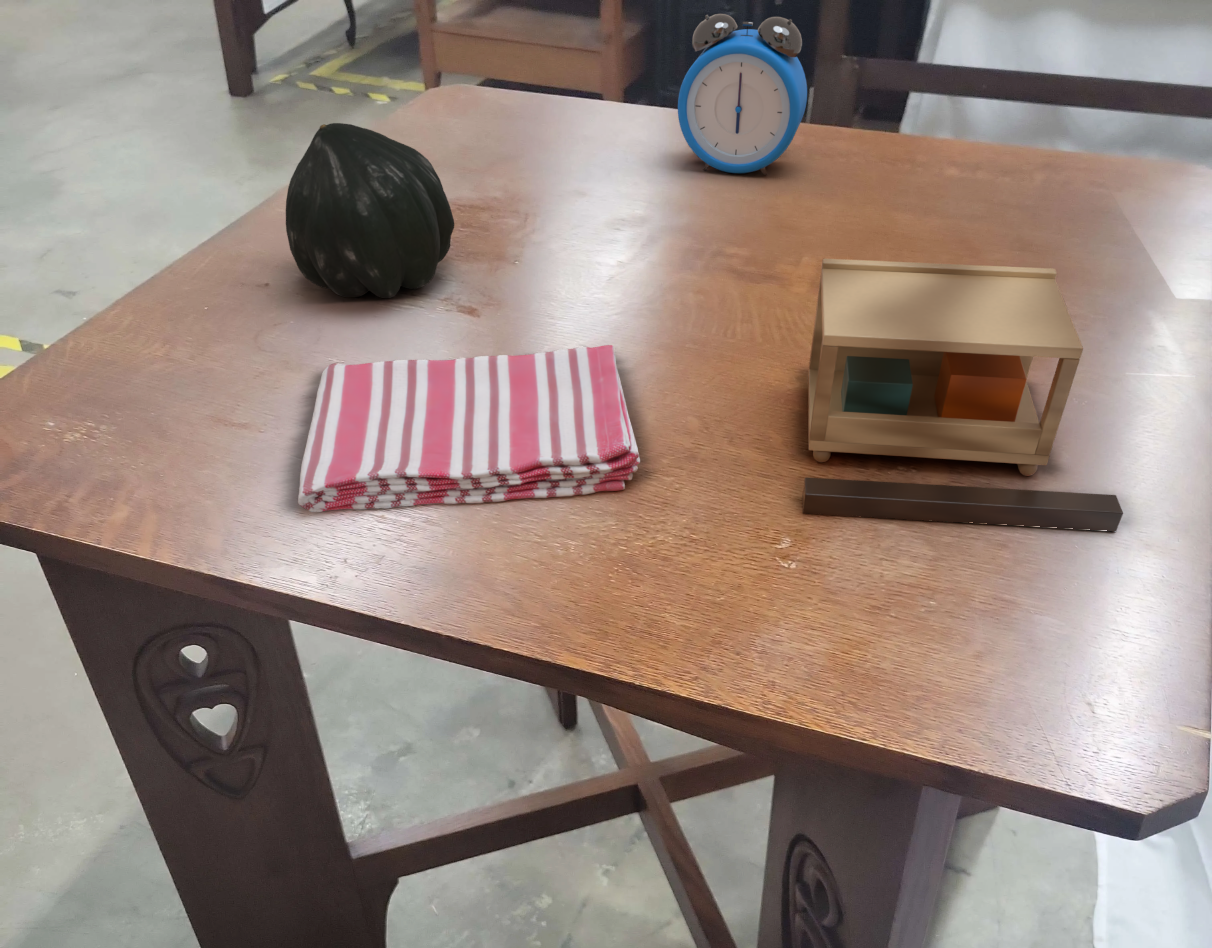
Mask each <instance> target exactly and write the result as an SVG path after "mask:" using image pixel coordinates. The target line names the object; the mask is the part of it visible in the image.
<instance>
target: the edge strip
mask: <svg viewBox="0 0 1212 948" xmlns="http://www.w3.org/2000/svg"><path fill="white" fill-rule="evenodd" d="M802 487H803V488H802V494H801V497H802V498H801V499H802V502H801V503H802V513H803V515H804V514H806V515H820V514H825V515H824V516H838V517H839V516H840V517H855V518H870V517H874V518H873V519H887V518H889V519H890V518H895V519H894V520H903V519H907V520H908V521H920V520H924V521H923V522H930V521H929V520H932V521H931V522H937V521H943V522H942V523H946V522H945V521H948V522H947V523H953V522H968V523H967V524H970V523H969V522H973V523H987V524H1007V525H1024V526H1040V527H1057V528H1073V529H1090V530H1107V531H1116V532H1117V531H1118V528H1119V525H1120V522H1121V520H1122V518H1123V514H1124V511H1123V509H1122V506H1121V504H1120V502H1119V498H1118V496H1117V495H1116V494H1104V493H1090V492H1089V493H1086V492H1071V491H1070V492H1069V491H1053V490H1052V491H1051V490H1034V489H1033V490H1032V489H1020V488H1019V489H1016V488H1003V487H1002V488H1001V487H983V486H966V485H965V486H964V485H947V484H929V483H914V482H913V483H912V482H896V481H879V480H877V481H875V480H859V479H857V480H856V479H841V478H823V477H807V476H806V477H804V481H803V486H802ZM859 516H861V517H859ZM912 519H913V520H912ZM890 520H891V519H890ZM907 520H906V521H907Z"/></svg>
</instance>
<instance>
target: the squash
mask: <svg viewBox="0 0 1212 948" xmlns="http://www.w3.org/2000/svg"><path fill="white" fill-rule="evenodd" d="M454 229H455V218H454V215H453V211H452V208H451V205H450V202H449V200H448V197H447V195H446V192H445V190H444V187H443V184H442V182H441V179H440V177H439V175H438V174H437V172H436V170H435V168H434V166H433V165H432V163H431V162H430V161H429V159H428V158H427V157H426V156H425V155H423V154H422V153H421V152H419V151H418V150H417V149H416V148H413V147H411V146H410V145H407V144H404V143H402V142H399V141H397V140H395V139H393V138H390V137H388V136H386V135H384V134H382V133H379V132H377V131H374V130H372V129H368V128H365V127H362V126H358V125H354V124H351V123H343V122H333V123H328V124H324V123H323V124H321V125H320V126H319V128H318V130H317V131H316V132H315V134H314V135H313V138H312V139H311V141H310V144H309V145H308V147H307V149H306V150H305V152H304V155H303V156H302V158H301V159H300V160H299V162H298V163H297V166H296V167H295V170H294V172H293V173H292V176H291V178H290V181H289V185H288V187H287V194H286V200H285V232H286V236H287V240H288V246H289V250H290V253H291V255H292V257H293V259H294V261H295V264H296V266H297V268H298V270H299V272H300V273H301V275H303V277H304V278H305V279H306V280H308V281H310V283H312V284H313V285H316V286H317V287H321V288H323V289H327V290H331V291H332V292H333V293H334V294H335V295H338V296H340V297H343V298H359V297H362V296H364V295H365V294H367V293H368V292H370V293H372V294H373V295H375V296H376V297H378V298H382V299H391V298H394V297H396V295H397V294H398V293H399V291H400V290H401V287H402V288H405V289H409V290H418V289H421V288H422V287H425V286H427V285H428V284H429V283H431V281H432V279H433V278H434V276H435V274H436V271H437V268H438V264H439V263H440V262H441V261H443V260H444V258H445V257H446V256H447V255H448V253H449V251H450V248H451V241H452V234H453V232H454Z"/></svg>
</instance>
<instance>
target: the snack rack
mask: <svg viewBox="0 0 1212 948" xmlns="http://www.w3.org/2000/svg"><path fill="white" fill-rule="evenodd" d="M1057 274H1058V273H1057V270H1056V268H1050V267H1049V268H1046V267H1027V266H1025V267H1024V266H1004V265H1001V266H1000V265H983V264H981V265H979V264H978V265H977V264H957V263H956V264H955V263H934V262H932V263H931V262H914V261H913V262H911V261H889V260H864V259H847V258H845V259H844V258H822V260H821V267H820V274H819V284H818V290H817V299H816V307H815V315H814V322H813V331H812V339H811V347H810V354H809V362H808V370H807V411H808V412H807V418H808V420H807V422H808V425H807V426H808V428H807V429H808V432H807V433H808V434H807V435H808V436H807V437H808V439H807V440H808V451H812V455H813V456H812V457H813V459H814V460H815V461H816V462H818V463H826V462H827V461H829V460H830V458H831V453H845V454H862V455H877V456H878V455H879V456H894V457H907V458H908V457H909V458H924V459H925V458H926V459H941V460H942V459H943V460H955V461H969V462H970V461H971V462H987V463H1003V464H1004V463H1005V464H1016V465H1017V468H1018V471H1019V473H1020V474H1021V475H1022V476H1024V477H1030V476H1033V475H1034V474H1035V473H1036V472H1037V471H1038V466H1047V465H1048V462H1049V458H1050V455H1051V453H1052V449H1053V446H1054V442H1055V439H1056V436H1057V433H1058V430H1059V427H1060V424H1061V422H1062V417H1063V415H1064V412H1065V409H1066V405H1067V402H1068V398H1069V396H1070V392H1071V390H1072V387H1073V386H1072V385H1073V384H1074V383H1073V382H1074V380H1075V377H1076V375H1077V370H1078V367H1079V364H1080V360H1081V357H1082V354H1083V351H1084V347H1083V344H1082V341H1081V339H1080V336H1079V334H1078V332H1077V329H1076V327H1075V323H1074V322H1073V320H1072V317H1071V313H1070V311H1069V309H1068V307H1067V305H1066V302H1065V300H1064V297H1063V295H1062V292H1061V290H1060V287H1059V284H1058V282H1057V281H1056V278H1057ZM1035 357H1036V358H1051V359H1052V358H1053V359H1055V358H1056V359H1058V361H1057V365H1056V367H1055V370H1054V375H1053V377H1052V381H1051V385H1050V388H1049V390H1048V391H1049V392H1048V395H1047V398H1046V400H1045V405H1044V408H1043V411H1042V414H1041V417H1040V420H1039V418H1038V413H1037V410H1036V407H1035V404H1034V401H1033V398H1032V395H1031V390H1030V388H1029V385H1028V382H1027V380H1028V377H1029V373H1030V370H1031V366H1032V363H1033V360H1034V358H1035Z"/></svg>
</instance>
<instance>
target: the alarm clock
mask: <svg viewBox="0 0 1212 948" xmlns="http://www.w3.org/2000/svg"><path fill="white" fill-rule="evenodd" d="M704 17H705V18H704V20H702V21H701V22H699V24H698V25H697V27H695V30H694V31H693V34H692V38H691V39H692V40H691V41H692V48H693V50H694V52H699V51H702V50H703V51H702V52H701V53H700V54H699V56H698V57H697V58H696V59H695V61H694V62H693V63H692V65H691V66H690V67H689V69H688V70H687V72H686V73H685V75H684V78H683V79H682V83H681V85H680V88H679V92H678V97H677V118H678V124H679V127H680V131H681V134H682V135H683V138H684V140H685V142H686V144H687V145H688V147H689V148H690V150H691V151H692V152H693V153H694V154H695V155H696V157H698V158H699V159H700V160H701V161H703V162H704V163H705V164H704V166H703V169H704V170H705V171H706V170H707V169H708V167H709V166H710V167H712V168H713V169H715V170H719V171H721V172H724V173H730V174H747V173H753V172H756V171H759V170H760V171H761V173H762V174H763V176H764V175H766V176H767V170H766V167H768V166H769V165H771V164H773V163H774V162H775V161H776V160H778V159H779V158H780V157H781V156H782V155H783V154H784V153H785V152H786V150H787V149H788V148H789V146H790V145H791V143H792V142H793V140H794V137H795V136H796V134H797V131H798V129H799V128H800V125H801V123H802V120H803V118H804V114H805V111H806V107H807V102H808V85H807V84H808V83H807V78H806V74H805V71H804V67H803V66H802V63H801V61H800V60H799V58H798V56H799V55H800V53H801V50H802V47H803V39H802V34H801V32H800V30H799V29H798V27H797V26H796V24H795V23H794V22H793V19H792V18H789V19H787V18H785V17H781V16H771V17H768V18H767V19H765V20H764V21H762V22H761V24H760V25H759V26H758V28H757V29H753V28H752V29H751V28H749V27H753V24H754V22H753V21H742V26H743V27H746V29H745V28H744V29H738V24H737V22H736V20H735V19H734V18H733V17H732V16H731V15H729V14H725V13H716V14H713V15H711V16H709V14H706V15H705V16H704ZM737 29H738V30H737ZM704 170H703V171H704Z"/></svg>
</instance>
